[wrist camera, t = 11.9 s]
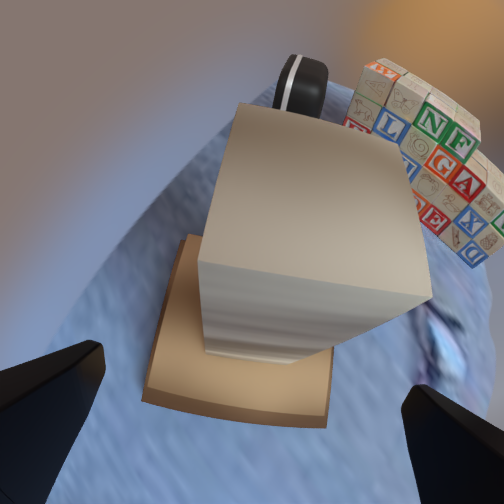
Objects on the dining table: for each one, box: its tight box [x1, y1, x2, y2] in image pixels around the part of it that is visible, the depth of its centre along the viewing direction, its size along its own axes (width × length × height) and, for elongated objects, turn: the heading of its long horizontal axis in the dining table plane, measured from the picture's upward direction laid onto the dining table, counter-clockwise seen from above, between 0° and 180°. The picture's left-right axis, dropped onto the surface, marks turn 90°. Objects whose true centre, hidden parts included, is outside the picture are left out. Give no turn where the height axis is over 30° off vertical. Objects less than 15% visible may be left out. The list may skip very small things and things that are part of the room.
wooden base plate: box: [141, 240, 334, 428], centre depth 20 cm, size 12×12×2 cm
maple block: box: [147, 234, 332, 416], centre depth 18 cm, size 10×10×2 cm
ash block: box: [197, 103, 432, 365], centre depth 11 cm, size 4×4×12 cm
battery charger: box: [272, 55, 328, 119], centre depth 24 cm, size 7×4×11 cm, turn 165°
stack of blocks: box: [342, 58, 504, 269], centre depth 24 cm, size 21×6×12 cm, turn 50°
